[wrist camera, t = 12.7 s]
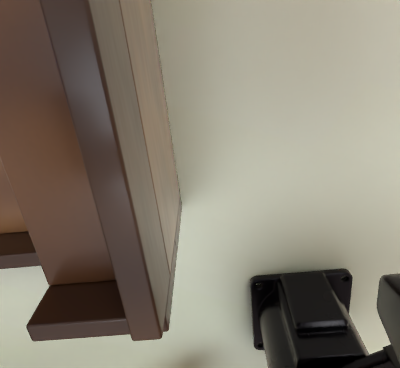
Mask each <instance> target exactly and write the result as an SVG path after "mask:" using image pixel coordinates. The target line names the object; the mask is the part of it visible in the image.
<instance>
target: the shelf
mask: <svg viewBox="0 0 400 368" xmlns="http://www.w3.org/2000/svg"><path fill="white" fill-rule="evenodd" d="M181 212H182V204H181V198H180V191H179V185H178V178H177V171H176V165H175V158H174V151H173V145H172V138H171V131H170V125H169V118H168V111H167V105H166V98H165V91H164V84H163V78H162V71H161V64H160V58H159V51H158V44H157V38H156V31H155V24H154V18H153V11H152V4H151V0H0V269H5V268H17V267H28V266H40V265H41V266H42V269H43V271H44V274H45V276H46V279H47V282H48V284H49V285H50V286H49V288H48V290H47V291H46V293H45V295H44V296H43V298H42V300H41V302H40V303H39V305H38V307H37V308H36V310H35V312H34V314H33V315H32V317H31V319H30V320H29V322H28V324H27V330H28V332H29V334H30V336H31V339H32V341H45V340H59V339H72V338H85V337H99V336H112V335H125V334H131V338H132V340H133V341H140V340H154V339H161V338H162V335H163V332H165V331H168V330H169V323H170V314H171V304H172V295H173V286H174V276H175V267H176V258H177V249H178V240H179V231H180V221H181Z"/></svg>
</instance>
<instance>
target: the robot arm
mask: <svg viewBox="0 0 400 368" xmlns="http://www.w3.org/2000/svg"><path fill="white" fill-rule="evenodd" d="M343 276H345V277H344V278H342V277H343ZM257 283H261V284H259V285H255V284H257ZM351 288H352V275H351V274H350V272H349V271H348V270H346V269H336V270H324V271H312V272H299V273H287V274H275V275H263V276H255V277H253V278H252V279H251V280H250V291H251V308H252V326H253V342H254V347H255V348H256V349H258V350H265V354H266V359H267V364H268V368H400V274H389V275H383V276H382V277H381V278H380V281H379V290H378V298H377V310H378V314H379V317H380V319H381V321H382V324H383V326H384V328H385V331H386V333H387V335H388V338H389V340H390V342H391V345H388V346H386V347H383V350H381V351H378V352H375V353H373V354H370V355H369V353H368V351H367V349H366V347H365V345H364V343H363V341H362V339H361V337H360V335H359V333H358V331H357V329H356V328H355V326H354V324H353V322H352V320H351V318H350V316H349V306H350V297H351Z"/></svg>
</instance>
